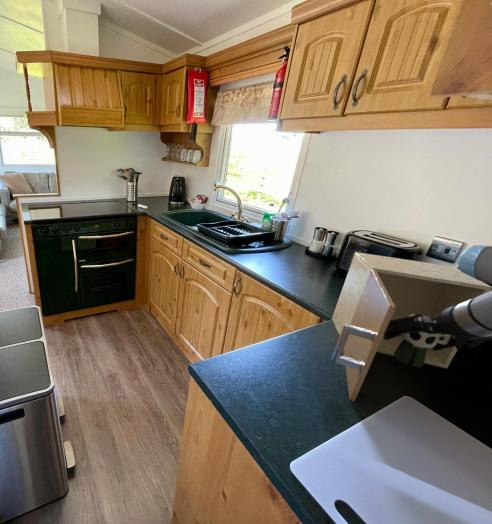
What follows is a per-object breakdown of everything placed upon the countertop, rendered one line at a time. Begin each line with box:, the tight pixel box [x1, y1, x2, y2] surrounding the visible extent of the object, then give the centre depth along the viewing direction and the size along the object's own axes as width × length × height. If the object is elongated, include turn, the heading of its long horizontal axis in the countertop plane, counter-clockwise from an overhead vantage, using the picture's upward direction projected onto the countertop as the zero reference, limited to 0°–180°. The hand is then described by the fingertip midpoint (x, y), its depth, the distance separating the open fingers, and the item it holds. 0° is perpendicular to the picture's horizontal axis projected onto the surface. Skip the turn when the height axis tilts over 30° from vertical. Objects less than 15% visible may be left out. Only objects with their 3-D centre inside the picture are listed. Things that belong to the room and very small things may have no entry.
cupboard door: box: [330, 269, 396, 402], centre depth 76 cm, size 7×26×26 cm, turn 150°
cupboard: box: [331, 251, 492, 369], centre depth 89 cm, size 16×26×26 cm, turn 70°
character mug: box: [394, 314, 451, 368], centre depth 78 cm, size 11×7×13 cm, turn 55°
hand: (409, 340), depth 81 cm, fingers closed on character mug, 10 cm apart
